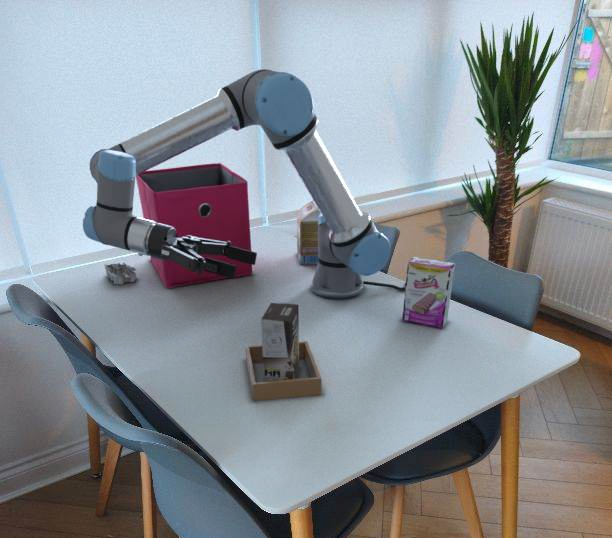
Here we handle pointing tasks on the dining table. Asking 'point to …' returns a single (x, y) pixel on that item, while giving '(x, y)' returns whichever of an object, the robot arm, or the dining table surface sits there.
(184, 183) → the storage bin
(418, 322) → the candy bar box
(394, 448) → the dining table surface
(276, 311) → the coffee box
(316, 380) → the wooden box
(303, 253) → the milk carton
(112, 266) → the egg carton
